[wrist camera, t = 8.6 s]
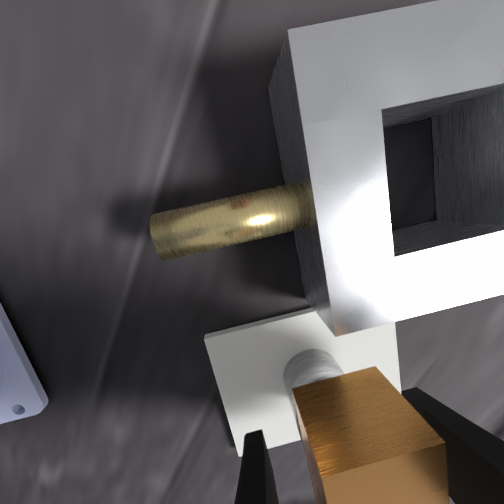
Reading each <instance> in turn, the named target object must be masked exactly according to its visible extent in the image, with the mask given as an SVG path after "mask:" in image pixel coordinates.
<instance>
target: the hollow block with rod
mask: <svg viewBox="0 0 504 504" xmlns="http://www.w3.org/2000/svg"><path fill="white" fill-rule="evenodd" d="M268 94H269V100H270V105H271V111H272V116H273V122H274V127H275V133H276V138H277V144H278V149H279V155H280V161H281V166H282V172H283V177H284V183H285V185H281V186H277V187H272V188H268V189H263V190H259V191H254V192H250V193H245V194H241V195H236V196H232V197H227V198H223V199H219V200H214V201H210V202H205V203H201V204H196V205H192V206H187V207H183V208H178V209H174V210H170V211H165V212H161V213H156V214H152V215H151V217H150V222H149V225H150V233H151V237H152V241H153V244H154V246H155V249H156V251H157V253H158V254H159V256H160V257H161V258H162V259H163V260H165V261H166V260H170V259H175V258H179V257H183V256H188V255H192V254H196V253H200V252H205V251H209V250H213V249H217V248H222V247H226V246H230V245H235V244H239V243H243V242H247V241H252V240H256V239H260V238H265V237H269V236H273V235H277V234H282V233H286V232H290V231H293V232H294V238H295V243H296V249H297V254H298V260H299V266H300V271H301V277H302V282H303V288H304V293H305V299H306V300H307V302H308V303H309V304H310V305H311V307H312V308H313V309H314V311H315V312H316V313H317V314H318V316H319V317H320V318H321V319H322V321H323V322H324V323H325V324H326V326H327V327H328V328H329V330H330V331H331V332H332V333H333V335H334V336H335V337H338V336H342V335H345V334H349V333H353V332H357V331H361V330H365V329H369V328H373V327H376V326H380V325H384V324H388V323H392V322H396V321H400V320H404V319H408V318H411V317H415V316H419V315H423V314H427V313H431V312H435V311H439V310H443V309H446V308H450V307H454V306H458V305H462V304H466V303H470V302H474V301H478V300H481V299H485V298H489V297H493V296H497V295H501V294H504V0H438V1H433V2H428V3H422V4H417V5H412V6H407V7H402V8H397V9H391V10H386V11H381V12H376V13H371V14H366V15H360V16H355V17H350V18H345V19H340V20H335V21H329V22H324V23H319V24H314V25H309V26H304V27H298V28H293V29H288V30H287V33H286V36H285V39H284V42H283V45H282V48H281V51H280V54H279V57H278V60H277V63H276V66H275V69H274V72H273V75H272V78H271V81H270V84H269V87H268ZM429 118H432V135H433V158H434V182H435V206H436V220H434V221H430V222H426V223H421V224H417V225H413V226H409V227H405V228H400V229H396V230H392V229H391V217H390V206H389V194H388V182H387V171H386V159H385V147H384V135H383V128H388V127H393V126H397V125H402V124H406V123H411V122H416V121H420V120H425V119H429Z"/></svg>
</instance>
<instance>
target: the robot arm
mask: <svg viewBox="0 0 504 504" xmlns="http://www.w3.org/2000/svg"><path fill="white" fill-rule="evenodd" d="M401 393H402V396H403V397H404V398H405V399H406V400H407V401H408V402H409V403H410V404H411V406H412V407H413V408H414V409H415V410H416V411H417V412H418V413H419V414H420V415H421V416H422V418H423V419H424V420H425V421H426V422H427V423H428V424H429V425H430V426H431V427H432V428H433V430H434V431H435V432H436V433H437V434H438V435H439V436H440V437H441V438H442V439H443V440H444V442H445V446H446V462H447V477H448V493H449V496H450V498H451V499H452V500H453V501H454V503H455V504H504V441H502V440H501V439H499V438H497V437H496V436H494V435H492V434H491V433H489V432H487V431H486V430H484V429H482V428H481V427H479V426H477V425H476V424H474V423H473V422H471V421H469V420H468V419H466V418H464V417H463V416H461V415H460V414H458V413H456V412H455V411H453V410H452V409H450V408H449V407H447V406H445V405H444V404H442V403H441V402H439V401H437V400H436V399H434V398H433V397H431V396H430V395H428V394H426V393H425V392H423V391H422V390H420V389H418V388H417V387H415V388H411V389H408V390H404V391H401ZM47 404H48V397H47V395H46V393H45V391H44V389H43V387H42V385H41V383H40V381H39V379H38V377H37V375H36V373H35V371H34V369H33V367H32V365H31V363H30V361H29V359H28V357H27V355H26V353H25V351H24V349H23V347H22V345H21V343H20V341H19V339H18V337H17V335H16V333H15V331H14V329H13V327H12V325H11V323H10V321H9V319H8V317H7V315H6V313H5V311H4V309H3V307H2V305H1V303H0V424H2V423H6V422H10V421H14V420H18V419H21V418H25V417H29V416H33V415H36V414H39V413H40V412H41V411H42V410H43V409H44V408H45V407H46V406H47ZM234 504H279V502H278V497H277V491H276V485H275V480H274V474H273V469H272V465H271V461H270V458H269V454H268V450H267V446H266V442H265V438H264V435H263V431H262V429H260V430H257V431H253V432H249V433H246V435H245V436H244V445H243V455H242V463H241V470H240V476H239V482H238V488H237V493H236V498H235V503H234Z"/></svg>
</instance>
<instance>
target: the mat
mask: <svg viewBox="0 0 504 504" xmlns="http://www.w3.org/2000/svg"><path fill="white" fill-rule="evenodd" d="M204 341H205V345H206V348H207V351H208V355H209V358H210V362H211V365H212V368H213V372H214V375H215V378H216V382H217V385H218V388H219V392H220V395H221V398H222V402H223V405H224V408H225V412H226V415H227V418H228V422H229V425H230V428H231V432H232V435H233V438H234V442H235V445H236V448H237V452H238V455H239V457H240V456H242V455H243V445H244V436H245V435H246V433H249V432H253V431H257V430H260V429H262V431H263V435H264V438H265V442H266V446H267V449H269V448H272V447H276V446H280V445H283V444H287V443H291V442H294V441H298V440H301V438H300V434H299V431H298V428H297V425H296V421H295V418H294V415H293V411H292V408H291V405H290V402H289V398H288V395H287V392H286V389H285V385H284V382H283V373H284V369H285V367H286V365H287V363H288V362H289V360H290V359H291V358H292V357H293V356H295V355H296V354H298V353H300V352H302V351H304V350H308V349H320V350H324V351H326V352H328V353H329V354H331V355H332V356H333V357H334V358H335V360H336V361H337V363H338V364H339V366H340V367H341V369H342V370H343V371H344V373H345V374H347V373H351V372H354V371H358V370H362V369H366V368H369V367H373V366H376V367H377V368H378V370H379V371H380V372H381V373H382V374H383V375H384V376H385V377H386V378H387V379H388V380H389V382H390V383H391V384H392V385H393V386H394V387H395V388H396V389H397V390H398V391H399V392H400V394H401V386H400V375H399V364H398V353H397V342H396V331H395V322H392V323H388V324H384V325H380V326H376V327H373V328H369V329H365V330H361V331H357V332H353V333H349V334H345V335H342V336H338V337H335V336H334V335H333V333H332V332H331V331H330V330H329V328H328V327H327V326H326V324H325V323H324V322H323V321H322V319H321V318H320V317H319V316H318V314H317V313H316V312H315V311H314V309H313V308H308V309H304V310H300V311H296V312H292V313H288V314H284V315H280V316H276V317H272V318H268V319H264V320H260V321H256V322H252V323H248V324H244V325H240V326H236V327H232V328H228V329H224V330H220V331H216V332H212V333H208V334H205V336H204Z"/></svg>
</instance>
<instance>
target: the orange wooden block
mask: <svg viewBox="0 0 504 504" xmlns="http://www.w3.org/2000/svg"><path fill="white" fill-rule="evenodd" d="M283 382H284V385H285V389H286V392H287V395H288V398H289V402H290V405H291V408H292V411H293V415H294V418H295V421H296V425H297V428H298V431H299V434H300V438H301V441H302V444H303V447H304V451H305V454H306V457H307V462H308V467H309V471H310V476H311V480H312V485H313V489H314V494H315V499H316V503H317V504H449V493H448V477H447V462H446V446H445V442H444V440H443V439H442V438H441V437H440V436H439V435H438V434H437V433H436V432H435V431H434V430H433V428H432V427H431V426H430V425H429V424H428V423H427V422H426V421H425V420H424V419H423V418H422V416H421V415H420V414H419V413H418V412H417V411H416V410H415V409H414V408H413V407H412V406H411V404H410V403H409V402H408V401H407V400H406V399H405V398H404V397H403V396H402V395H401V394H400V392H399V391H398V390H397V389H396V388H395V387H394V386H393V385H392V384H391V383H390V382H389V380H388V379H387V378H386V377H385V376H384V375H383V374H382V373H381V372H380V371H379V370H378V368H377V367H376V366H373V367H369V368H366V369H362V370H358V371H354V372H351V373H347V374H345V373H344V371H343V370H342V369H341V367H340V366H339V364H338V363H337V361H336V360H335V358H334V357H333V356H332V355H331V354H329V353H328V352H326V351H324V350H320V349H308V350H304V351H302V352H300V353H298V354H296V355H295V356H293V357H292V358H291V359H290V360H289V362H288V363H287V365H286V367H285V369H284V373H283Z"/></svg>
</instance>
